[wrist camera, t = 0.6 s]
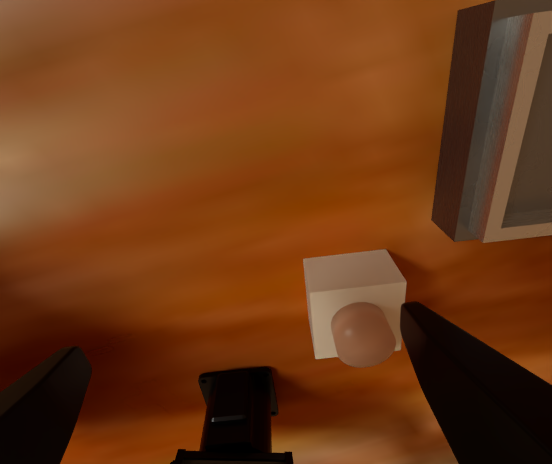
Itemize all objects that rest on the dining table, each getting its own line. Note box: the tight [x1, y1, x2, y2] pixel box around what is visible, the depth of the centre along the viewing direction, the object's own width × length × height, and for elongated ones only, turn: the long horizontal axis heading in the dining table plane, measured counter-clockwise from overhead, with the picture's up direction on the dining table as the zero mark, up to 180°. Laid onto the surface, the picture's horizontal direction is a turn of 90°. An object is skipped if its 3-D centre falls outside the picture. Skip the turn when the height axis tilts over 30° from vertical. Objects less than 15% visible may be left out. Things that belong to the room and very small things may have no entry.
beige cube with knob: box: [303, 249, 407, 367], centre depth 22 cm, size 6×6×6 cm
